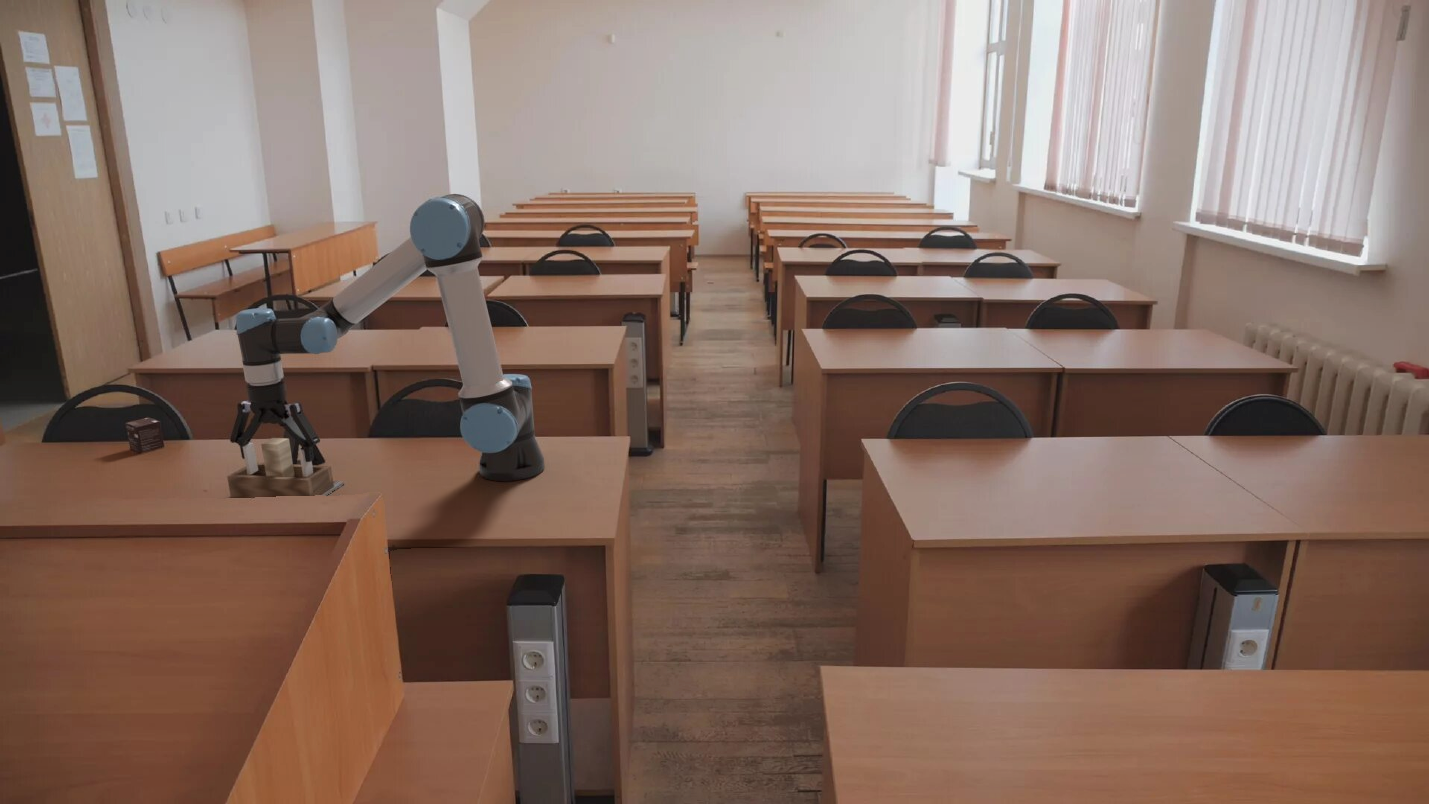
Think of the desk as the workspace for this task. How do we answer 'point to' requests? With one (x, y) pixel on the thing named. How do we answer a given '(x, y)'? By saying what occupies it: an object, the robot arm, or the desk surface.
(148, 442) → the box
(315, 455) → the black phone stand
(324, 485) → the wooden tray
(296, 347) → the robot arm
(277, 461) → the birch block
